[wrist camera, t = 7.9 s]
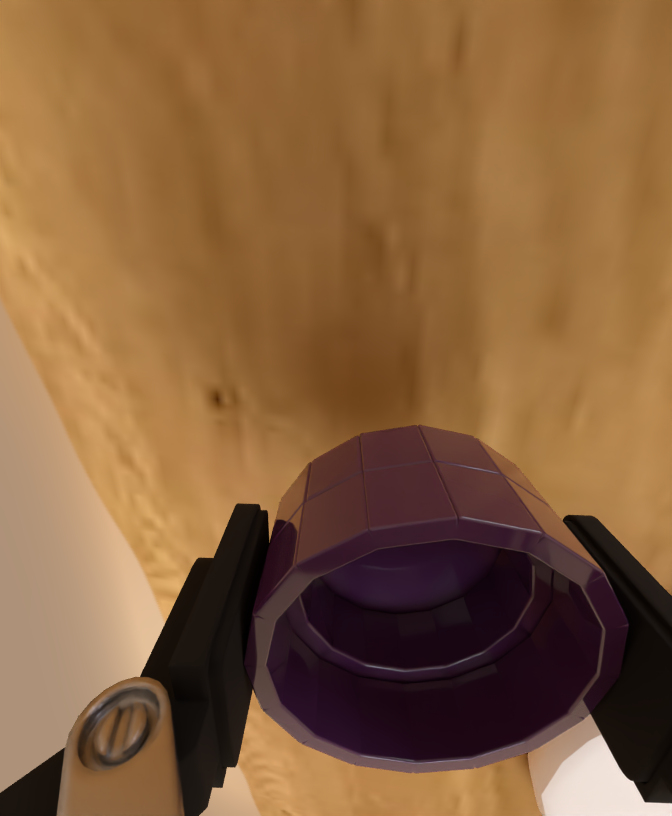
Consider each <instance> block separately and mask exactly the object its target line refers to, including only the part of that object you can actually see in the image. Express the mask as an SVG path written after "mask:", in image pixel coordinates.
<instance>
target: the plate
mask: <svg viewBox="0 0 672 816" xmlns="http://www.w3.org/2000/svg"><path fill="white" fill-rule="evenodd" d="M528 763H529V770H530V775H531V779H532V784H533V788H534V793H535V798H536V801H537V805H538V808H539V810H540V812H541V814H542V816H672V803H646V802H644V800H643V798H642V796H641V795H640V793H639V791H638V789H637V787H636V786H635V784H634V782H633V781H630V780H629V779H628V778H626V776H625V775H624V774H623V773H622V771H621V770H620V768H619V766H618V764H617V762H616V761H615V759H614V757H613V755H612V753H611V751H610V750H609V748H608V746H607V744H606V742H605V740H604V738H603V737H602V735H601V733H600V731H599V729H598V727H597V725H596V724H595V722H594V720H593V718H592V716H591V714H590V715H589V716H588V717H586V718H585V719H584V720H583V721H581V722H580V723H578V724H577V725H575V726H573V727H572V728H570V729H569V730H567V731H565V732H564V733H562V734H560V735H559V736H557V737H556V738H554V739H552V740H551V741H549V742H548V743H546V744H544V745H543V746H541V747H540V748H538V749H534V751H531V752H528Z"/></svg>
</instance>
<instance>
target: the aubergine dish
mask: <svg viewBox="0 0 672 816" xmlns="http://www.w3.org/2000/svg"><path fill="white" fill-rule="evenodd" d="M628 623H629V622H628V619H627V617H626V615H625V613H624V611H623V609H622V607H621V605H620V602H619V600H618V598H617V596H616V594H615V592H614V590H613V588H612V586H611V584H610V582H609V580H608V578H607V576H606V574H605V572H604V571H603V570H602V568H601V567H600V566H599V565H598V564H597V562H596V561H595V560H594V559H593V558H592V556H591V555H590V554H589V553H588V551H587V550H586V549H585V548H584V547H583V545H582V544H581V543H580V542H579V541H578V539H577V538H576V537H575V536H574V534H573V533H572V532H571V531H570V530H569V528H568V527H567V526H566V525H565V524H564V522H563V521H562V520H561V519H560V517H559V516H558V515H557V514H556V513H555V512H554V511H553V509H552V508H551V507H550V505H549V504H548V503H547V502H546V501H545V499H544V498H543V497H542V496H541V495H540V493H539V492H538V491H537V490H536V488H535V487H534V486H533V485H532V484H531V482H530V481H529V480H528V479H527V478H526V476H525V475H524V474H523V473H522V471H521V470H520V469H519V468H518V467H517V466H516V465H515V464H514V463H512V462H511V461H509V460H508V459H506V458H505V457H504V456H502V455H501V454H499V453H498V452H496V451H495V450H493V449H492V448H491V447H489V446H488V445H486V444H485V443H483V442H482V441H480V440H479V439H477V438H474V436H471V435H466V434H461V433H456V432H451V431H447V430H442V429H437V428H432V427H427V426H422V425H418V426H417V425H412V426H406V427H399V428H393V429H386V430H380V431H374V432H367V433H361V434H360V436H355V437H353V438H352V439H350V440H348V441H346V442H344V443H343V444H341V445H339V446H337V447H336V448H334V449H332V450H330V451H328V452H327V453H325V454H323V455H321V456H319V457H318V458H316V459H314V460H313V461H312V462H310V463H309V464H308V465H307V466H306V467H305V469H304V470H303V471H302V472H301V474H300V475H299V476H298V478H297V479H296V480H295V482H294V483H293V484H292V485H291V487H290V488H289V489H288V491H287V492H286V493H285V494H284V496H283V497H282V499H281V502H280V503H279V507H278V511H277V515H276V519H275V523H274V527H273V531H272V535H271V539H270V543H269V548H268V551H267V555H266V559H265V563H264V567H263V571H262V575H261V579H260V583H259V587H258V591H257V595H256V599H255V603H254V607H253V611H252V615H251V621H250V626H249V632H248V637H247V643H246V648H245V653H244V659H243V664H244V669H245V671H246V673H247V676H248V678H249V681H250V683H251V685H252V688H253V690H254V693H255V695H256V697H257V700H258V702H259V705H260V707H261V708H262V709H263V711H264V712H265V713H266V714H267V715H268V716H269V717H270V718H272V719H273V720H274V721H275V722H276V723H277V724H279V725H280V726H281V727H282V728H283V729H284V730H285V731H287V732H288V733H289V734H290V735H291V736H292V737H293V738H295V739H296V740H297V741H298V742H300V743H302V744H303V745H305V746H308V747H310V748H312V749H315V750H317V751H320V752H322V753H325V754H327V755H330V756H332V757H334V758H337V759H339V760H342V761H344V762H347V763H349V764H354V765H356V766H363V767H370V768H377V769H384V770H392V771H399V772H406V773H425V772H438V771H451V770H463V769H474V768H479V767H483V766H486V765H489V764H492V763H496V762H499V761H502V760H505V759H509V758H512V757H515V756H518V755H522V754H525V753H528V752H531V751H534V749H538V748H540V747H541V746H543V745H544V744H546V743H548V742H549V741H551V740H552V739H554V738H556V737H557V736H559V735H560V734H562V733H564V732H565V731H567V730H569V729H570V728H572V727H573V726H575V725H577V724H578V723H580V722H581V721H583V720H584V719H585V718H586V717H588V716H589V715H590V713H591V712H592V711H593V710H594V708H595V707H596V706H597V704H598V703H599V702H600V701H601V699H602V698H603V697H604V696H605V694H606V693H607V692H608V691H609V689H610V688H611V687H612V686H613V684H614V683H615V682H616V681H617V679H618V678H619V676H620V675H619V674H621V671H622V665H623V659H624V653H625V647H626V641H627V635H628V630H629V624H628Z"/></svg>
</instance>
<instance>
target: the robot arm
mask: <svg viewBox="0 0 672 816" xmlns="http://www.w3.org/2000/svg"><path fill="white" fill-rule="evenodd" d="M563 522H564V524H565V525H566V526H567V527H568V528H569V530H570V531H571V532H572V533H573V534H574V536H575V537H576V538H577V539H578V541H579V542H580V543H581V544H582V545H583V547H584V548H585V549H586V550H587V551H588V553H589V554H590V555H591V556H592V558H593V559H594V560H595V561H596V562H597V564H598V565H599V566H600V567H601V568H602V570H603V571H604V572H605V574H606V576H607V578H608V580H609V582H610V584H611V586H612V588H613V590H614V592H615V594H616V596H617V598H618V600H619V602H620V605H621V607H622V609H623V611H624V613H625V615H626V617H627V619H628V622H629V623H628V624H629V630H628V635H627V641H626V647H625V653H624V659H623V665H622V671H621V674H619V675H620V676H619V678H618V679H617V681H616V682H615V683H614V684H613V686H612V687H611V688H610V689H609V691H608V692H607V693H606V694H605V696H604V697H603V698H602V699H601V701H600V702H599V703H598V704H597V706H596V707H595V708H594V710H593V711H592V712H591V713H590V714H591V716H592V718H593V720H594V722H595V724H596V725H597V727H598V729H599V731H600V733H601V735H602V737H603V738H604V740H605V742H606V744H607V746H608V748H609V750H610V751H611V753H612V755H613V757H614V759H615V761H616V762H617V764H618V766H619V768H620V770H621V771H622V773H623V774H624V775H625V776H626V778H628V779H629V780H630V781H633V782H634V784H635V786H636V787H637V789H638V791H639V793H640V795H641V796H642V798H643V800H644V802H646V803H672V596H671V595H670V594H669V593H668V592H667V591H666V590H665V589H664V588H663V587H662V586H661V585H660V584H659V583H658V582H657V581H656V580H655V578H654V577H653V576H652V575H651V574H650V573H649V572H648V571H647V570H646V569H645V568H644V567H643V566H642V565H641V564H640V563H639V562H638V561H637V560H636V559H635V558H634V557H633V556H632V555H631V554H630V552H629V551H628V550H627V549H626V548H625V547H624V546H623V545H622V544H621V543H620V542H619V541H618V540H617V539H616V538H615V537H614V536H613V535H612V534H611V533H610V532H609V531H608V530H607V529H606V528H605V526H604V525H603V524H602V523H601V522H600V521H599V520H598V519H596V518H595V517H593V516H584V515H567V516H566V517H564V519H563ZM268 548H269V526H268V512H267V510H261V509H260V505H259V504H236V506H235V508H234V510H233V513H232V515H231V518H230V520H229V522H228V525H227V527H226V529H225V532H224V534H223V537H222V539H221V541H220V544H219V546H218V549H217V551H216V553H215V556H214V558H198V559H197V560H196V561H195V563H194V565H193V566H192V568H191V570H190V573H189V575H188V577H187V579H186V581H185V583H184V585H183V587H182V589H181V591H180V594H179V596H178V598H177V600H176V602H175V604H174V606H173V608H172V610H171V613H170V615H169V617H168V619H167V621H166V623H165V625H164V627H163V629H162V632H161V634H160V636H159V638H158V640H157V642H156V644H155V646H154V648H153V650H152V652H151V655H150V657H149V659H148V661H147V663H146V666H145V667H144V669H143V671H142V674H141V676H140V677H134V678H130V679H126V680H123V681H120V682H118V683H116V684H114V685H113V686H111V687H109V688H107V689H106V690H104V691H103V692H102V693H101V694H99V695H98V696H97V697H96V698H94V699H93V700H92V701H91V702H90V703H89V704H88V706H87V707H86V708H85V709H84V710H83V712H82V713H81V714H80V715H79V716H78V718H77V720H76V722H75V724H74V726H73V727H72V729H71V731H70V733H69V736H68V740H67V744H66V747H65V748H63V749H62V750H61V751H59V752H58V753H56V754H55V755H53V756H52V757H51V758H49V759H48V760H46V761H45V762H43V763H42V764H41V765H39V766H38V767H36V768H35V769H34V770H32V771H31V772H29V773H28V774H26V775H25V776H24V777H22V778H21V779H19V780H18V781H17V782H15V783H14V784H12V785H11V786H9V787H8V788H7V789H5V790H4V791H2V792H1V793H0V816H199V815H200V814H201V813H202V812H203V811H204V810H205V809H206V808H207V807H208V803H209V799H210V794H211V790H212V787H216V788H222V787H223V783H224V778H225V774H226V769H227V767H236V765H237V762H238V758H239V754H240V749H241V744H242V739H243V734H244V729H245V725H246V720H247V715H248V710H249V705H250V700H251V695H252V690H253V688H252V685H251V683H250V681H249V678H248V676H247V673H246V671H245V669H244V664H243V659H244V653H245V648H246V643H247V637H248V632H249V626H250V621H251V615H252V611H253V607H254V603H255V599H256V595H257V591H258V587H259V583H260V579H261V575H262V571H263V567H264V563H265V559H266V555H267V551H268Z"/></svg>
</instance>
